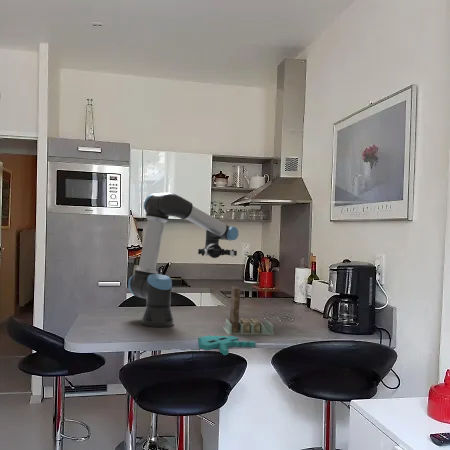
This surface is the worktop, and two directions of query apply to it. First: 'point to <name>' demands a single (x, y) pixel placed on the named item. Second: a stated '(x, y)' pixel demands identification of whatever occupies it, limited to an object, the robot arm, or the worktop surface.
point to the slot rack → (264, 329)
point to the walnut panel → (235, 308)
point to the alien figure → (222, 343)
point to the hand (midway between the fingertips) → (219, 253)
